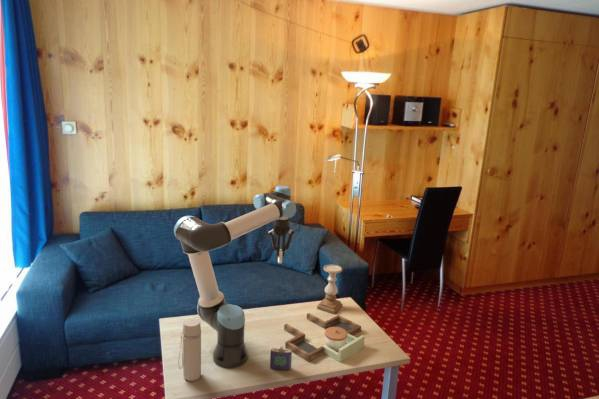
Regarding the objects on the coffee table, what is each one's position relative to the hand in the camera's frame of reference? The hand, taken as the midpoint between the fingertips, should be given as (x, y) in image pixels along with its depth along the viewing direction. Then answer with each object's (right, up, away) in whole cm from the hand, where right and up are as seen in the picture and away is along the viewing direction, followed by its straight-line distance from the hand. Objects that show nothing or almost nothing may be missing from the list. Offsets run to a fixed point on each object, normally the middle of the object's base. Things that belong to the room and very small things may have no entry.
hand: (279, 262), depth 225 cm
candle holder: (+27, -29, +24) cm, 46 cm away
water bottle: (-35, -42, -40) cm, 68 cm away
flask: (+2, -42, -31) cm, 52 cm away
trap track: (+21, -36, -6) cm, 43 cm away
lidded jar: (+27, -39, -13) cm, 49 cm away
